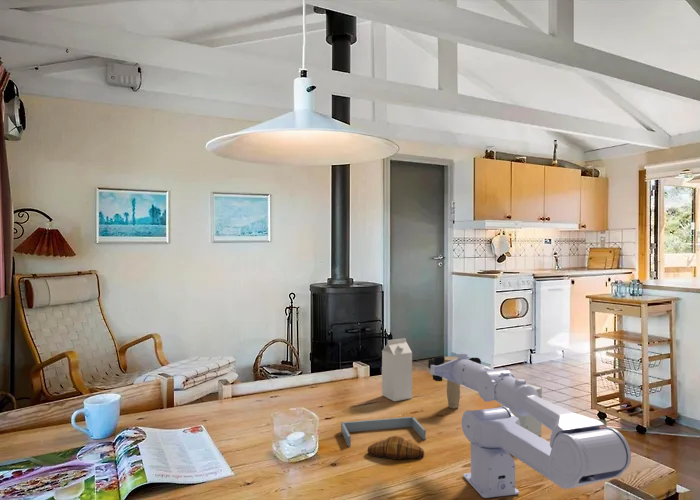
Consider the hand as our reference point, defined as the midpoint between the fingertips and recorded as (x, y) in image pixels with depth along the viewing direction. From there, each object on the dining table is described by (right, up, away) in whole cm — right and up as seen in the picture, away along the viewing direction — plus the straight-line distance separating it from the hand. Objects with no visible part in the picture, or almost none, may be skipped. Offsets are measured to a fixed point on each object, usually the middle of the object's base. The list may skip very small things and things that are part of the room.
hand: (443, 363), depth 119 cm
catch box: (-15, -20, +7) cm, 26 cm away
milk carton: (-8, -20, +38) cm, 44 cm away
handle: (+8, -20, +28) cm, 35 cm away
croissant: (-12, -21, -5) cm, 25 cm away
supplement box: (+22, -20, +7) cm, 31 cm away
